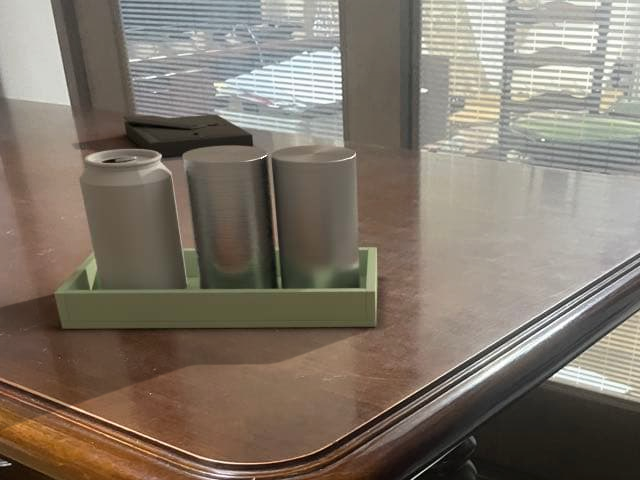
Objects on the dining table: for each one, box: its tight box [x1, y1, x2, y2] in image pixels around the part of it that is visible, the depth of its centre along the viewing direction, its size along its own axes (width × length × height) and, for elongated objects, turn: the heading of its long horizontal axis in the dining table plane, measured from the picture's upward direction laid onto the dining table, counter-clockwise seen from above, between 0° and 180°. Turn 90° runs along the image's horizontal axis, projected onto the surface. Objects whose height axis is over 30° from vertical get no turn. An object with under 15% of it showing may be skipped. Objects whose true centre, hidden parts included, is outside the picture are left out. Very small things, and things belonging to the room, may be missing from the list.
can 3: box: [270, 144, 360, 289], centre depth 76 cm, size 7×7×12 cm
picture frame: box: [123, 114, 254, 158], centre depth 141 cm, size 16×3×21 cm
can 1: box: [78, 148, 187, 290], centre depth 76 cm, size 8×8×12 cm
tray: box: [53, 246, 378, 330], centre depth 79 cm, size 27×13×3 cm, turn 91°
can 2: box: [181, 146, 279, 289], centre depth 76 cm, size 7×7×12 cm
